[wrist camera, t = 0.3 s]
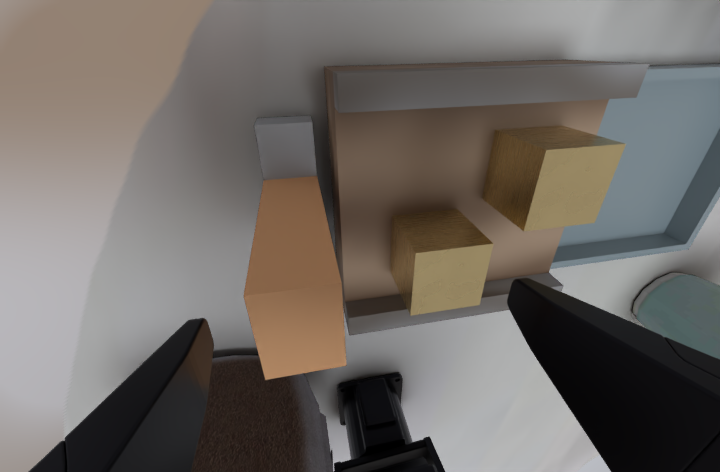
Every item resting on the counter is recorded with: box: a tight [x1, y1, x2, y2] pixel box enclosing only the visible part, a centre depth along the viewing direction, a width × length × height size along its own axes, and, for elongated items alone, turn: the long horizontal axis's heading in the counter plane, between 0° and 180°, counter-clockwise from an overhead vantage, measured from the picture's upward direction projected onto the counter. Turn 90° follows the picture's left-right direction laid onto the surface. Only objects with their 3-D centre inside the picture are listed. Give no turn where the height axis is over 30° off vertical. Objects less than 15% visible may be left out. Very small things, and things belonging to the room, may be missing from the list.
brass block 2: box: [482, 125, 626, 231], centre depth 17 cm, size 4×4×4 cm
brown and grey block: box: [244, 115, 346, 380], centre depth 16 cm, size 10×3×12 cm, turn 0°
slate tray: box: [550, 64, 720, 269], centre depth 24 cm, size 14×16×2 cm
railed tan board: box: [324, 60, 649, 335], centre depth 20 cm, size 15×15×6 cm
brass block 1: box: [390, 209, 493, 316], centre depth 18 cm, size 4×4×4 cm
